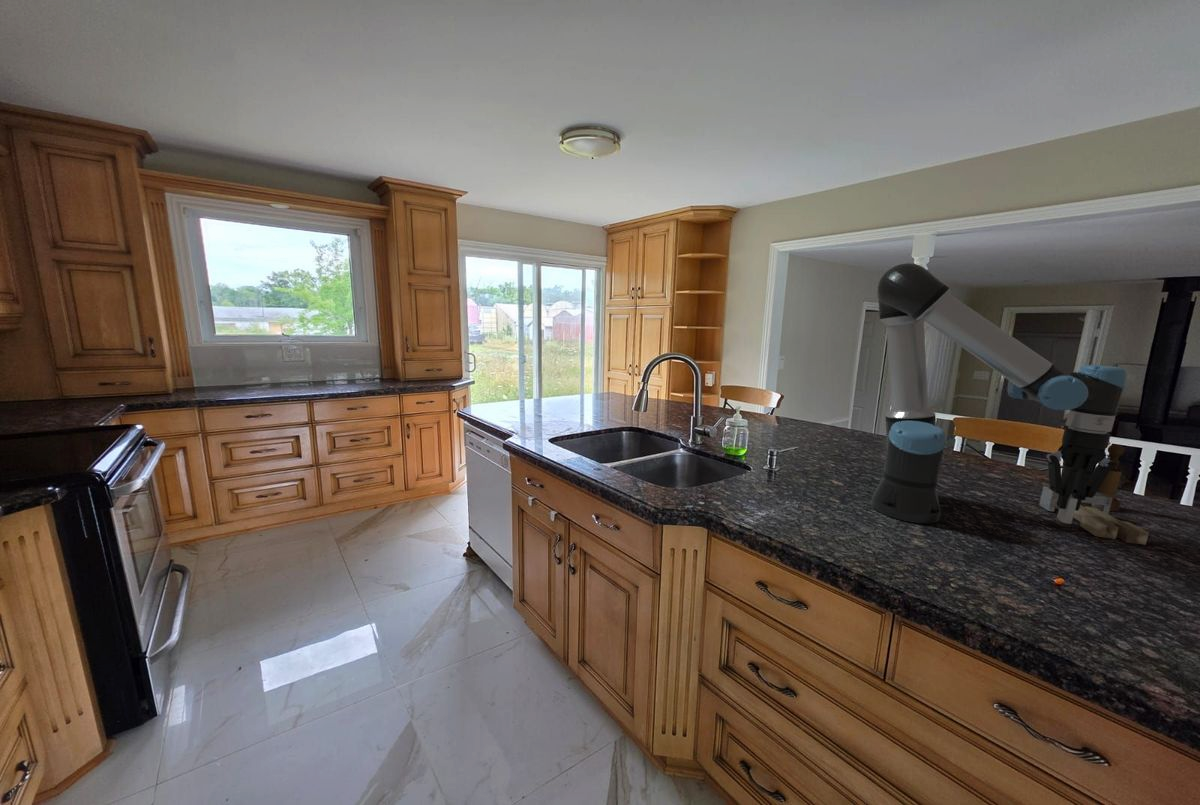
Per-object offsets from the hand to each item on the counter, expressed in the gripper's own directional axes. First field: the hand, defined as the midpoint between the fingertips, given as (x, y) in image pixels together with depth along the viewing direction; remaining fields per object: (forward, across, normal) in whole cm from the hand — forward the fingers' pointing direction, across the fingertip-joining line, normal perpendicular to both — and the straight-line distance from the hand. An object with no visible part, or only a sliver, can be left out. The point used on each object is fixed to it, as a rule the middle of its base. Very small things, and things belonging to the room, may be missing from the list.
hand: (1063, 521), depth 111 cm
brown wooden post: (+2, +20, +21) cm, 29 cm away
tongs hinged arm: (+1, +8, +8) cm, 11 cm away
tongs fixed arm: (+1, +10, +7) cm, 13 cm away
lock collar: (+1, +9, +12) cm, 15 cm away
